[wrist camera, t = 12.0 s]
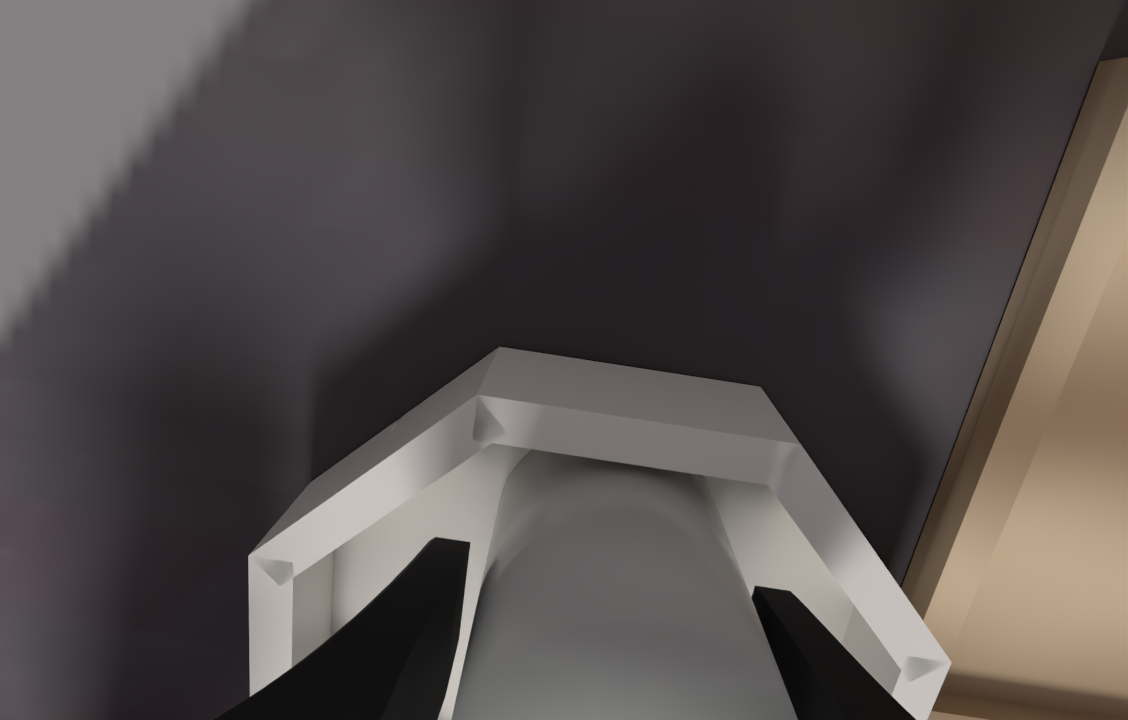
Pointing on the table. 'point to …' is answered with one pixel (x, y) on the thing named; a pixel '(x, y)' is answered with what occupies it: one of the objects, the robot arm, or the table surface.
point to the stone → (614, 603)
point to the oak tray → (1045, 464)
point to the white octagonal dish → (594, 430)
